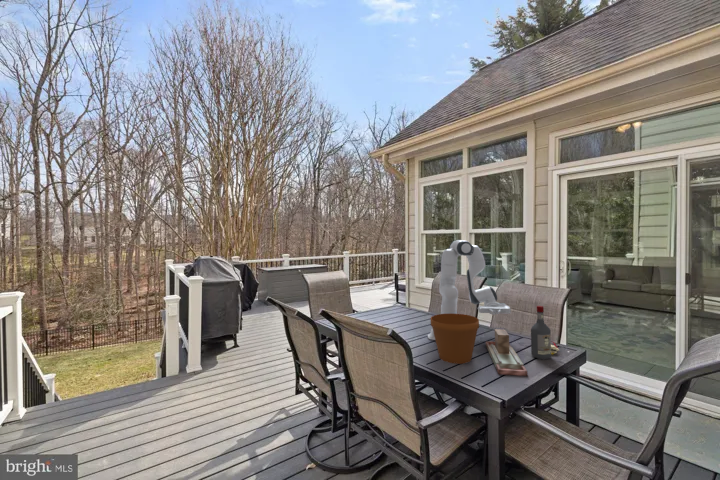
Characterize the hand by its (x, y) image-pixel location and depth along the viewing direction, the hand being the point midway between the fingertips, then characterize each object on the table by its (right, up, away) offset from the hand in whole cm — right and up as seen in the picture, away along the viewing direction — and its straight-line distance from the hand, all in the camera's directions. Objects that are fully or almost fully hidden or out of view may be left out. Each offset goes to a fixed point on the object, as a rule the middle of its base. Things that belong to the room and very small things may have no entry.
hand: (496, 312), depth 220 cm
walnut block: (-4, -19, -17) cm, 26 cm away
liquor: (+18, -22, -22) cm, 36 cm away
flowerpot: (-33, -23, -20) cm, 45 cm away
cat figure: (+29, -22, -8) cm, 37 cm away
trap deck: (-5, -22, -24) cm, 33 cm away
